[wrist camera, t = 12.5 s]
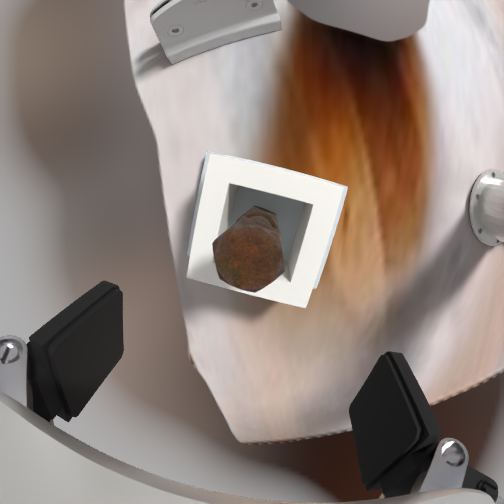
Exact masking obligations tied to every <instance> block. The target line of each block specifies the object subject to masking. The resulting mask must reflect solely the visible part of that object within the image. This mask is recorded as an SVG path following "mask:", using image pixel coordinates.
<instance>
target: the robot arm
mask: <svg viewBox="0 0 504 504" xmlns="http://www.w3.org/2000/svg"><path fill="white" fill-rule="evenodd" d="M469 212H470V221H471V226H472V229H473V231H474V233H475V235H476V237H477V238H478V239H479V240H480V241H481V242H482V243H484V244H486V245H489V246H495V245H498V244H500V243H502V242H504V173H503V172H501V171H499V170H491V169H490V170H487V171H485V172H484V173H482V174H481V175H480V176H479V177H478V179H477V181H476V182H475V184H474V187H473V189H472V193H471V198H470V209H469ZM29 339H30V342H28V343H27V344H26V343H25V342H24V341H23V340H22V339H21V338H19V337H17V336H13V335H7V336H2V337H0V504H504V499H503V498H502V497H501V496H499V497H498V486H497V484H496V482H495V481H494V480H492V479H491V478H489V477H488V476H486V475H484V474H482V473H480V472H479V471H477V470H475V469H473V468H472V467H470V466H468V465H467V464H468V452H467V450H466V448H465V447H464V445H463V444H462V443H461V442H459V441H458V440H456V439H453V438H446V439H443V440H442V441H440V442H439V441H438V438H439V437H440V436H441V434H442V431H441V429H440V427H439V425H438V422H437V420H436V418H435V416H434V414H433V412H432V410H431V408H430V406H429V403H428V401H427V399H426V397H425V395H424V393H423V391H422V390H421V388H420V386H419V384H418V382H417V380H416V378H415V376H414V374H413V372H412V370H411V369H410V367H409V365H408V363H407V361H406V359H405V358H404V356H403V354H402V353H396V352H386V353H385V354H384V355H381V356H380V358H379V359H378V361H377V363H376V365H375V366H374V368H373V370H372V371H371V373H370V375H369V376H368V378H367V380H366V381H365V383H364V385H363V386H362V388H361V389H360V391H359V392H358V394H357V395H356V397H355V398H354V400H353V402H352V403H351V405H350V408H349V414H350V419H351V424H352V429H353V434H354V439H355V444H356V449H357V455H358V460H359V466H360V472H361V478H362V482H363V483H364V484H366V489H367V491H372V490H380V489H381V488H382V492H383V493H382V495H381V496H380V498H379V499H374V500H366V501H354V502H337V503H301V502H283V501H271V500H262V499H254V498H247V497H241V496H235V495H229V494H224V493H219V492H215V491H210V490H205V489H202V488H197V487H194V486H190V485H186V484H183V483H180V482H176V481H173V480H170V479H167V478H163V477H161V476H158V475H155V474H152V473H149V472H147V471H144V470H142V469H139V468H136V467H134V466H131V465H129V464H127V463H124V462H122V461H120V460H118V459H115V458H113V457H111V456H109V455H107V454H105V453H103V452H100V451H98V450H97V449H95V448H93V447H91V446H89V445H87V444H85V443H83V442H82V441H79V440H78V439H76V438H74V437H73V436H71V435H69V434H67V433H66V432H64V431H62V430H61V429H59V428H57V427H56V426H54V423H53V419H54V417H55V416H56V415H57V416H59V417H61V418H62V419H64V420H65V421H67V422H69V421H70V420H71V418H72V417H77V416H78V415H79V414H80V412H81V411H82V410H83V408H84V407H85V405H86V404H87V403H88V401H89V400H90V399H91V397H92V396H93V394H94V393H95V392H96V390H97V389H98V387H99V386H100V385H101V384H102V382H103V381H104V379H105V378H106V377H107V376H108V374H109V373H110V372H111V370H112V369H113V368H114V367H115V365H116V364H117V363H118V361H119V360H120V359H121V357H122V354H123V351H124V345H123V293H122V291H120V290H119V286H117V285H115V284H113V283H110V282H107V281H102V282H100V283H99V284H98V285H96V286H95V287H94V288H92V289H91V290H89V291H88V292H87V293H85V294H84V295H82V296H81V297H80V298H78V299H77V300H76V301H74V302H73V303H72V304H70V305H69V306H68V307H67V308H65V309H64V310H63V311H61V312H60V313H59V314H58V315H56V316H55V317H54V318H52V319H51V320H50V321H49V322H47V323H46V324H45V325H43V326H42V327H41V328H40V329H39V330H37V331H36V332H35V333H34V334H32V335H31V336H30V337H29Z"/></svg>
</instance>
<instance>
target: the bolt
mask: <svg viewBox="0 0 504 504" xmlns="http://www.w3.org/2000/svg"><path fill="white" fill-rule="evenodd" d="M212 246H213V255H214V260H215V266H216V270H217V273H218V276H219V278H220V280H222V281H224V282H225V283H227V284H229V285H231V286H233V287H235V288H238V289H240V290H244V291H248V292H254V293H255V292H257V291H260V290H261V289H263V288H265V287H266V286H268V285H269V284H271V283H272V282H274V281H275V280H276V279H277V278H278V277H280V276H281V275H282V274H283V273H284V272H285V264H284V256H283V249H282V242H281V235H280V230H279V229H278V222H277V216H276V214H275V213H273V212H271V211H269V210H266V209H264V208H261V207H258V206H253V207H252V208H251V209H250V210H248V211H247V212H246V213H245V214H243V215H242V216H241V217H240V218H238V219H237V221H236V223H235V224H233V225H232V226H231V227H230V228H229V229H227V230H226V231H225V232H224V233H222V234H221V235H220V236H219V237H218V238H216V239H215V240H214V242H213V243H212Z"/></svg>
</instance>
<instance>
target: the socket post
mask: <svg viewBox="0 0 504 504" xmlns="http://www.w3.org/2000/svg"><path fill="white" fill-rule="evenodd" d="M347 189H348V187H347V186H343V185H340V184H337V183H334V182H330V181H327V180H324V179H320V178H317V177H314V176H310V175H306V174H303V173H299V172H296V171H292V170H288V169H284V168H280V167H276V166H272V165H268V164H264V163H260V162H256V161H251V160H247V159H242V158H238V157H233V156H228V155H223V154H218V153H213V152H208V151H207V153H206V158H205V162H204V167H203V171H202V176H201V180H200V185H199V190H198V195H197V200H196V205H195V210H194V216H193V221H192V226H191V232H190V238H189V244H188V250H187V256H190V259H189V265H188V271H187V278H189V279H193V280H196V281H200V282H204V283H207V284H211V285H215V286H218V287H222V288H226V289H230V290H234V291H237V292H241V293H245V294H249V295H253V296H257V297H261V298H265V299H269V300H273V301H277V302H281V303H286V304H290V305H294V306H298V307H303V308H306V306H307V303H308V300H309V297H310V295H311V292H312V289H313V288H317V286H318V283H319V280H320V277H321V274H322V271H323V268H324V265H325V262H326V259H327V256H328V253H329V250H330V247H331V244H332V240H333V237H334V234H335V231H336V227H337V224H338V221H339V217H340V214H341V211H342V207H343V204H344V200H345V196H346V193H347ZM253 206H258V207H261V208H264V209H266V210H269V211H271V212H273V213H275V214H276V216H277V222H278V229H279V230H280V235H281V242H282V249H283V256H284V264H285V272H284V273H283V274H282V275H281V276H280V277H278V278H277V279H276V280H275V281H274V282H272V283H271V284H269V285H268V286H266V287H265V288H263V289H261V290H260V291H257V292H255V293H254V292H248V291H244V290H240V289H238V288H235V287H233V286H231V285H229V284H227V283H225V282H224V281H222V280H220V278H219V276H218V273H217V270H216V266H215V260H214V255H213V246H212V243H213V242H214V240H215V239H216V238H218V237H219V236H220V235H221V234H222V233H224V232H225V231H226V230H227V229H229V228H230V227H231V226H232V225H233V224H235V223H236V221H237V219H238V218H240V217H241V216H242V215H243V214H245V213H246V212H247V211H248V210H250V209H251V208H252V207H253Z"/></svg>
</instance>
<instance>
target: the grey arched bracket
mask: <svg viewBox="0 0 504 504" xmlns="http://www.w3.org/2000/svg"><path fill="white" fill-rule="evenodd" d="M150 18H151V19H150V22H151V24H152V26H153V28H154V31H155V33H156V35H157V37H158V39H159V41H160V43H161V45H162V47H163V49H164V51H165V54H166V56H167V58H168V59H169V61H170V62H171V63H172V64H175V63H177V62H179V61H182V60H184V59H186V58H189V57H191V56H194V55H197V54H199V53H202V52H205V51H207V50H210V49H213V48H216V47H219V46H222V45H225V44H228V43H231V42H235V41H238V40H241V39H245V38H248V37H252V36H256V35H260V34H264V33H268V32H273V31H277V30H282V25H281V20H280V16H279V13H278V10H277V8H276V5H275V3H274V0H163V1H161V2H160V3H159V4H158V5H156V6H155V7H154V8H153V10H152V11H151V14H150Z"/></svg>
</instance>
